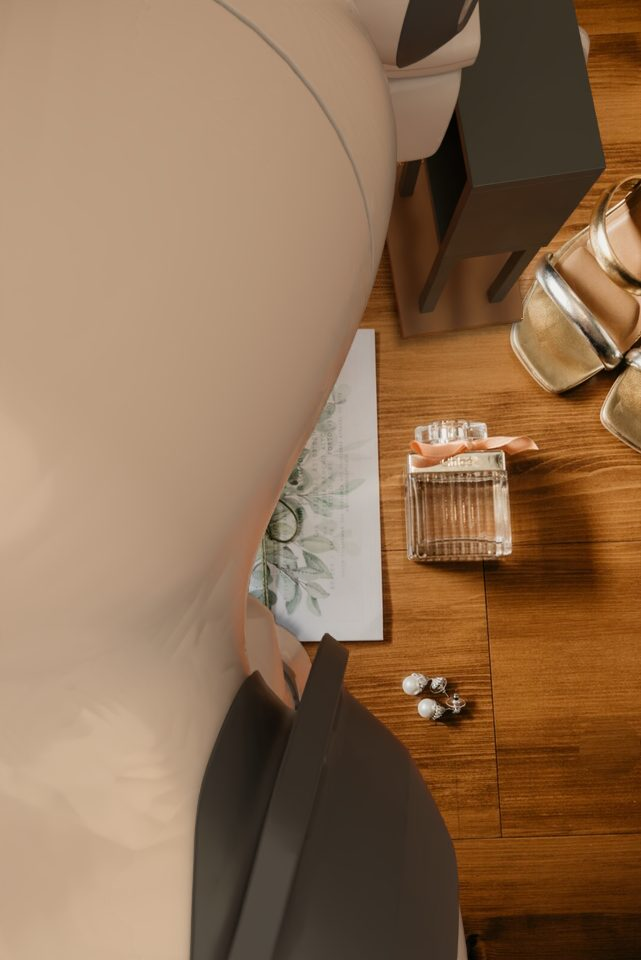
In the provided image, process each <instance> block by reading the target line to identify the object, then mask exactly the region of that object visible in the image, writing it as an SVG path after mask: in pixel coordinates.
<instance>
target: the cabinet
mask: <svg viewBox="0 0 641 960" xmlns="http://www.w3.org/2000/svg"><path fill="white" fill-rule="evenodd" d="M479 7H480V35H481V41H480V48H479V52H478V55H477V58H476V60H475V62H474V64H473V65H471V66H468V67H464V68H462V70H461V83H460V89H459V94H458V98H457V102H456V105H455V108H454V111H453V114H452V117H451V120H450V122H449V125H448V128H447V130H446V133H445V135H444V137H443V140H442V142H441V144H440V146H439V148H438V150H437V151H436V153H434V154H433V155H432V156H430V157H427V158H423V159H419V160H413V161H405V162H402V166H403V167H402V172H401V176H400V181H399V191H400V197H405V196H412V195H413V193H414V189H415V185H416V182H417V178H418V174H419V170H420V166H421V163H424V167H425V173H426V178H427V184H428V190H429V196H430V201H431V207H432V213H433V219H434V224H435V230H436V236H437V242H438V247H439V250H438V252H437V255H436V258H435V260H434V263H433V265H432V268H431V270H430V273H429V275H428V278H427V280H426V283H425V285H424V288H423V290H422V293H421V295H420V298H419V300H418V303H419V309H420V314H421V313H428V312H433V311H434V309H435V306H436V304H437V302H438V300H439V298H440V296H441V294H442V292H443V290H444V288H445V285H446V283H447V281H448V279H449V277H450V275H451V273H452V271H453V269H454V267H455V264H456V262H457V260H460V259H467V258H474V257H480V256H487V255H494V254H501V253H507V252H512V254H511V255H510V257H509V258H508V260H507V261H506V263H505V265H504V266H503V268H502V269H501V271H500V272H499V274H498V275H497V277H496V278H495V280H494V281H493V283H492V285H491V286H490V288H489V289H488V291H487V292H488V298H489V303H494V302H500V301H502V300H503V299H504V298H505V296H506V295H507V294H508V292H509V291H510V290H511V288H512V287H513V286H514V284H515V283H516V281H517V280H518V281H519V279H520V277H521V276H522V275H523V274H524V272H525V271H526V270H527V268H528V267H529V265H530V264H531V263H532V261H533V260H534V258H535V257H536V256H537V255H538V253H539V252H540V250H542V248H547V247H548V246H549V245H550V243H551V242H552V241H553V239H554V238H555V237H556V236H557V234H558V233H559V232H560V231H561V229H562V228H563V226H564V225H565V224H566V222H567V221H568V220H569V218H570V217H571V216H572V215H573V213H574V212H575V211H576V209H577V208H578V207H579V205H580V204H581V202H583V200H584V198H585V197H586V196H587V194H588V193H589V192H590V190H591V189H592V188H593V186H595V184H596V182H597V181H598V180H599V178H600V177H601V176H602V174H603V173H604V172H605V170H606V169H607V163H606V158H605V153H604V148H603V142H602V137H601V133H600V128H599V122H598V117H597V113H596V107H595V102H594V98H593V92H592V87H591V82H590V78H589V73H588V67H587V64H586V62H585V57H584V52H583V47H582V41H581V36H580V31H579V26H580V25H579V22H578V21H579V20H578V17H577V11H576V6H575V3H574V0H479Z"/></svg>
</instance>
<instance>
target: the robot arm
mask: <svg viewBox="0 0 641 960" xmlns="http://www.w3.org/2000/svg"><path fill="white" fill-rule="evenodd" d="M480 41H481V35H480V7H479V0H0V960H468V950H467V944H466V937H465V930H464V924H463V918H462V912H461V906H460V882H459V870H458V859H457V854H456V849H455V845H454V842H453V839H452V837H451V834H450V832H449V829H448V827H447V825H446V823H445V820H444V817H443V815H442V814H441V811H440V809H439V807H438V804H437V802H436V800H435V798H434V796H433V794H432V792H431V790H430V788H429V786H428V784H427V782H426V780H425V778H424V776H423V774H422V773H421V771H420V769H419V767H418V765H417V763H416V761H415V760H414V757H413V756H412V754H411V752H410V750H409V748H408V747H407V746H406V745H405V744H404V743H403V742H402V741H401V740H400V739H399V737H397V735H395V733H393V732H392V730H391V729H390V728H389V727H388V726H386V724H385V723H383V722H382V721H381V720H380V719H379V718H378V717H377V716H376V715H375V714H374V713H373V712H372V711H371V710H370V709H368V708H367V707H366V705H364V704H363V703H362V702H361V701H360V700H359V699H358V698H357V697H356V696H354V695H353V694H352V693H351V691H350V690H349V688H348V687H347V685H346V684H345V675H346V672H347V668H348V662H349V658H350V650H349V648H347V647H346V646H344V644H342V643H340V642H339V641H338V640H337V639H336V638H335V637H334V636H332V635H331V634H330V633H329V632H325V633H324V634H323V635H322V637H321V639H320V642H319V644H318V647H317V649H316V652H315V655H314V657H313V661H311V659H310V656H309V654H308V652H307V650H306V648H305V647H304V646H303V645H302V643H301V641H299V639H298V638H297V637H296V636H295V635H294V634H293V633H291V632H290V631H289V630H287V628H285V627H283V626H281V625H279V623H278V624H277V623H276V622H275V618H274V614H273V612H272V611H271V610H270V609H269V607H268V606H266V604H265V603H263V601H261V600H260V599H259V598H257V597H256V596H254V595H253V594H251V593H250V591H249V590H250V584H251V578H252V574H253V570H254V567H255V563H256V558H257V555H258V552H259V549H260V547H261V545H262V541H263V539H264V536H265V534H266V531H267V528H268V525H269V524H270V522H271V519H272V517H273V514H274V512H275V509H276V507H277V505H278V502H279V500H280V498H281V496H282V495H283V494H282V493H283V491H284V489H285V487H286V485H287V483H288V481H289V478H290V476H291V474H292V472H293V470H294V468H295V467H296V464H297V462H298V460H299V459H300V457H301V455H302V454H303V451H304V449H305V447H306V446H307V444H308V442H309V440H310V438H311V436H312V434H313V432H314V431H315V428H316V426H317V424H318V422H319V419H320V417H321V416H322V414H323V411H324V409H325V407H326V405H327V402H328V400H329V398H330V396H331V394H332V392H333V389H334V387H335V385H336V384H337V381H338V378H339V376H340V374H341V372H342V370H343V368H344V365H345V363H346V360H347V357H348V355H349V353H350V351H351V347H352V345H353V343H354V340H355V338H356V336H357V333H358V330H359V328H360V324H361V322H362V319H363V317H364V314H365V312H366V308H367V307H368V303H369V300H370V297H371V294H372V291H373V288H374V284H375V281H376V278H377V274H378V271H379V267H380V264H381V259H382V256H383V253H384V248H385V243H386V235H387V230H388V226H389V220H390V215H391V210H392V203H393V197H394V189H395V181H396V169H397V167H398V163H403V162H405V161H413V160H419V159H422V160H423V158H427V157H430V156H432V155H433V154H434V153H436V151H437V150H438V148H439V146H440V144H441V142H442V140H443V137H444V135H445V133H446V130H447V128H448V125H449V122H450V120H451V117H452V114H453V111H454V108H455V105H456V102H457V98H458V94H459V89H460V83H461V70H462V68H464V67H468V66H471V65H473V64H474V62H475V60H476V58H477V55H478V52H479V48H480Z"/></svg>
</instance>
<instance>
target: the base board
mask: <svg viewBox="0 0 641 960" xmlns="http://www.w3.org/2000/svg"><path fill="white" fill-rule="evenodd" d="M402 167H403V165H402V166H397V169H396V181H395V189H394V197H393V203H392V210H391V215H390V220H389V226H388V230H387V235H386V240H385V243H386V247H387V255H388V262H389V267H390V273H391V279H392V285H393V291H394V297H395V302H396V303H395V304H396V308H397V309H396V310H397V315H398V321H399V326H400V332H401V338H402V339H401V340H407V339H415V338H420V337H427V336H433V335H441V334H446V333H447V334H448V333H453V332H461V331H467V330H474V329H481V328H487V327H494V326H501V325H509V324H514V323H521V322H523V320H524V319H521V318H523V310H524V306H523V301H522V295H521V289H520V283H519V279H518V280H517V281H516V283H515V284H514V286H513V287H512V288H511V290H510V291H509V292H508V294H507V295H506V296H505V298H504V299H503V300H502V301H500V302H494V303H489V298H488V292H487V291H488V289H489V288H490V286H491V285H492V283H493V281H494V280H495V278H496V277H497V275H498V274H499V272H500V271H501V269H502V268H503V266H504V265H505V263H506V261H507V260H508V258H509V257H510V255H511V254H512V252H507V253H501V254H494V255H487V256H480V257H474V258H467V259H460V260H457V262H456V264H455V267H454V269H453V271H452V273H451V275H450V277H449V279H448V281H447V283H446V285H445V288H444V290H443V292H442V294H441V296H440V298H439V300H438V302H437V304H436V306H435V309H434V311H433V312H428V313H421V314H420V309H419V303H418V300H419V298H420V295H421V293H422V290H423V288H424V285H425V283H426V280H427V278H428V275H429V273H430V270H431V268H432V265H433V263H434V260H435V258H436V255H437V252H438V250H439V247H438V242H437V236H436V230H435V224H434V219H433V213H432V207H431V201H430V196H429V190H428V184H427V178H426V173H425V167H424V162H422V163H421V166H420V170H419V174H418V178H417V182H416V185H415V189H414V193H413V195H412V196H405V197H400V191H399V181H400V176H401V172H402Z"/></svg>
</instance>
